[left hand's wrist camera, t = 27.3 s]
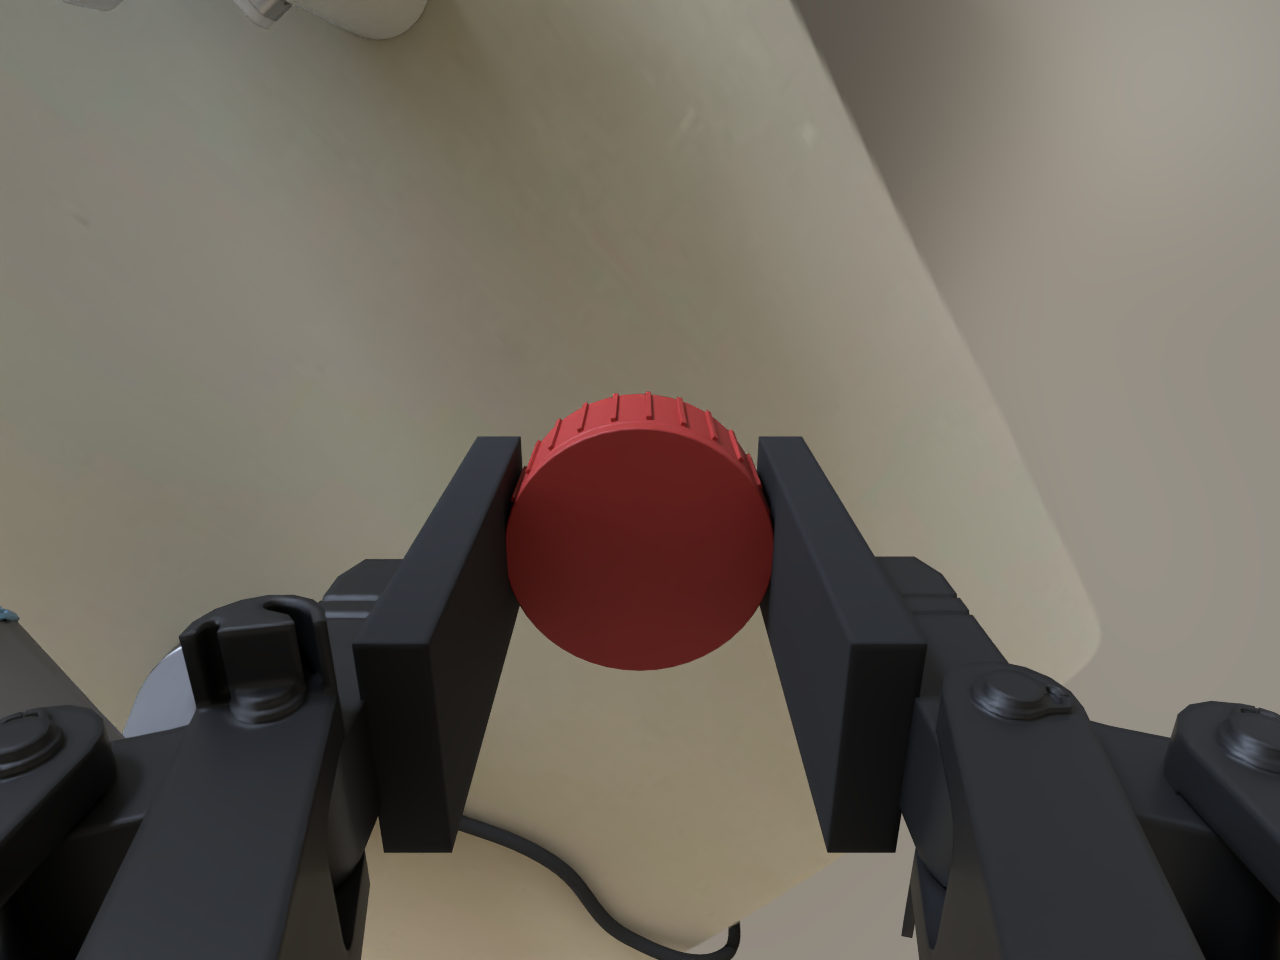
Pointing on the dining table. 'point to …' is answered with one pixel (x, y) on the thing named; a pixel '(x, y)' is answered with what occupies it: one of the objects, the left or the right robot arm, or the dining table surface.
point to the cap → (639, 534)
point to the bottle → (366, 15)
